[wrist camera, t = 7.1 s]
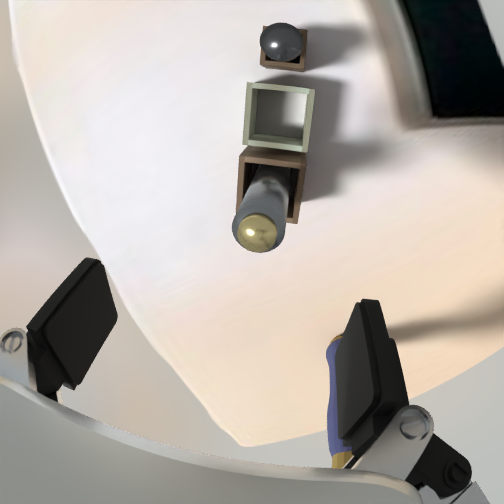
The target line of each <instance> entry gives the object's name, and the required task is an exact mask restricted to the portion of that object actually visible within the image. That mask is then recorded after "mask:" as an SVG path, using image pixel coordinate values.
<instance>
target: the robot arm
mask: <svg viewBox="0 0 504 504" xmlns="http://www.w3.org/2000/svg"><path fill="white" fill-rule="evenodd" d="M117 317H118V315H117V311H116V308H115V304H114V301H113V298H112V294H111V291H110V287H109V283H108V280H107V276H106V272H105V268H104V265H103V264H101V261H100V260H98V259H93V258H85V259H84V260H83V261H82V262H81V263H80V264H79V265H78V266H77V267H76V268H75V269H74V271H72V272H71V274H70V275H69V276H68V277H67V278H66V279H65V280H64V281H63V283H62V284H61V285H60V286H59V287H58V288H57V289H56V291H55V292H54V293H53V294H52V295H51V296H50V298H49V299H48V300H47V301H46V302H45V304H44V305H43V306H42V307H41V309H40V310H39V311H38V312H37V313H36V315H35V316H34V317H33V318H32V320H31V321H30V322H29V324H28V325H27V326H26V327H27V329H28V332H27V333H25V331H24V330H22V329H21V328H12V329H10V330H8V331H6V332H5V333H4V334H3V335H2V336H1V337H0V504H490V503H489V501H488V500H487V498H486V497H485V495H484V493H483V492H482V490H481V489H480V487H479V486H478V484H477V483H476V481H474V482H472V481H471V475H472V470H471V466H470V463H469V461H468V460H467V459H466V458H465V457H464V456H462V455H461V454H459V453H458V452H457V451H456V450H454V449H453V448H452V447H451V446H449V445H448V444H447V443H445V442H444V441H443V440H442V439H440V438H439V437H438V436H436V435H435V434H434V433H433V431H434V422H433V418H432V417H431V415H430V414H429V412H428V411H427V410H425V409H424V408H422V407H420V406H417V405H409V401H408V395H407V390H406V386H405V381H404V376H403V372H402V367H401V363H400V359H399V355H398V351H397V347H396V343H395V341H394V340H393V338H389V336H388V332H387V328H386V324H385V320H384V317H383V313H382V309H381V306H380V303H379V301H378V300H371V299H362V300H361V302H360V303H359V302H357V303H356V304H355V307H354V309H353V312H352V314H351V317H350V319H349V322H348V324H347V326H346V329H345V331H344V334H343V336H342V338H341V341H340V343H339V345H338V348H337V350H336V353H335V371H336V390H337V418H338V438H339V439H342V440H343V447H351V449H352V455H353V456H352V458H351V459H350V460H349V461H348V462H347V463H346V464H345V465H344V466H343V468H342V469H335V468H312V467H295V466H284V465H274V464H264V463H255V462H248V461H241V460H235V459H229V458H224V457H218V456H213V455H208V454H204V453H199V452H195V451H190V450H186V449H182V448H178V447H174V446H171V445H167V444H163V443H160V442H156V441H153V440H150V439H146V438H143V437H140V436H137V435H135V434H131V433H128V432H126V431H123V430H120V429H118V428H115V427H112V426H110V425H107V424H104V423H102V422H100V421H97V420H95V419H92V418H90V417H88V416H85V415H83V414H81V413H79V412H76V411H74V410H72V409H70V408H68V407H66V406H64V405H63V401H62V395H61V390H60V387H61V386H62V384H63V385H64V386H65V387H67V388H70V389H72V390H75V388H76V386H77V385H79V384H81V382H82V380H83V379H84V377H85V375H86V373H87V371H88V370H89V368H90V366H91V364H92V362H93V361H94V359H95V357H96V355H97V353H98V352H99V350H100V349H101V347H102V345H103V343H104V342H105V340H106V338H107V337H108V335H109V333H110V332H111V330H112V328H113V327H114V325H115V324H116V321H117Z"/></svg>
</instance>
